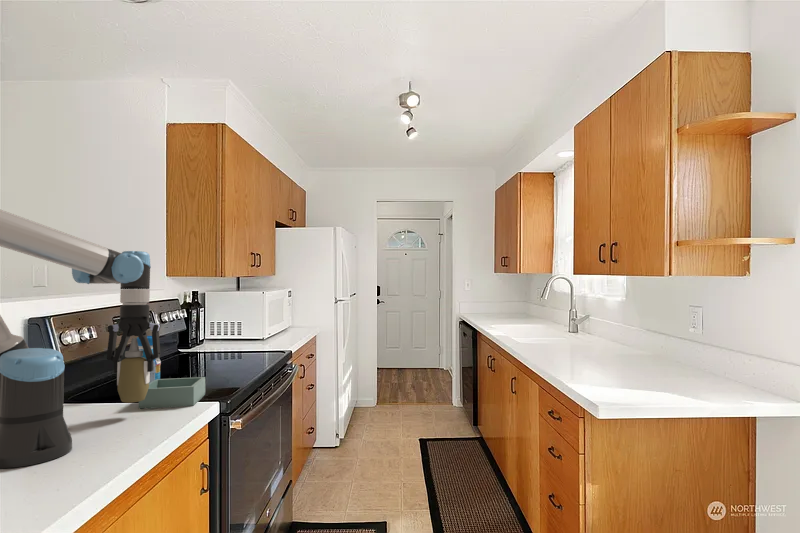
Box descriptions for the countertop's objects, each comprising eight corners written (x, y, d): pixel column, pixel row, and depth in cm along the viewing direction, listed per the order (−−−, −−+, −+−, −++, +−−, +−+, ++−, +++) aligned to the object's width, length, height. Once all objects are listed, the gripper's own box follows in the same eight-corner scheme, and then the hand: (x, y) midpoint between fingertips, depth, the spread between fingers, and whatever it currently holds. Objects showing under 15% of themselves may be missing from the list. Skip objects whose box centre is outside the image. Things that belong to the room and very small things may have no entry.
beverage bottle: (140, 397, 162) (140, 338, 163) (129, 394, 168) (129, 337, 168) (165, 392, 169) (165, 336, 170) (153, 389, 174) (153, 334, 175)
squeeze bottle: (139, 404, 134) (140, 339, 135) (110, 404, 134) (112, 340, 135) (154, 397, 142) (155, 337, 143) (127, 397, 142) (128, 337, 143)
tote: (193, 405, 149) (193, 386, 150) (138, 409, 147) (138, 389, 147) (205, 394, 165) (205, 377, 165) (155, 397, 162) (155, 379, 163)
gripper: (174, 303, 145) (172, 379, 143) (104, 304, 141) (102, 382, 140) (166, 303, 137) (165, 384, 136) (92, 304, 134) (91, 387, 133)
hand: (133, 383), depth 138 cm, fingers closed on squeeze bottle, 6 cm apart
